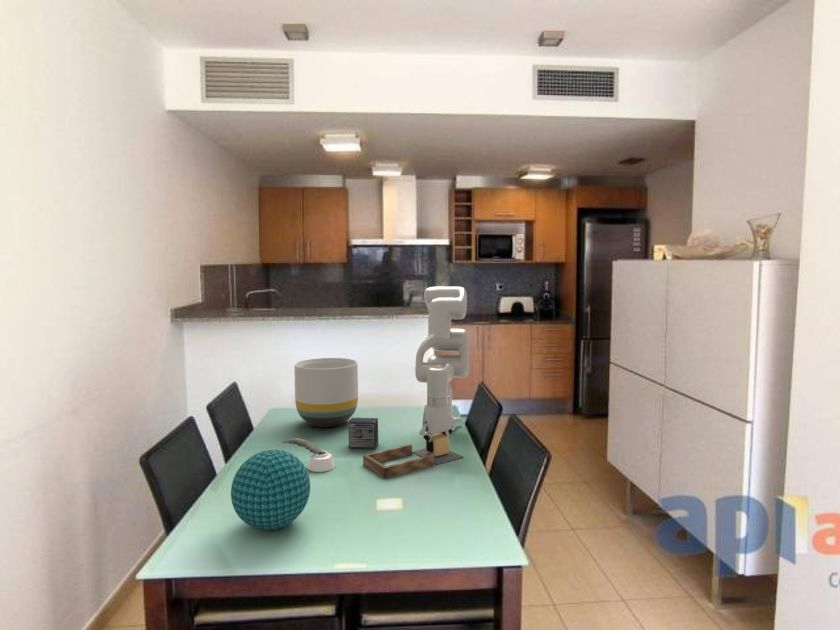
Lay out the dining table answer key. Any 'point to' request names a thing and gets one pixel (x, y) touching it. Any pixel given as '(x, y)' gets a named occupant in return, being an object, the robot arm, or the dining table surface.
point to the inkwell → (315, 456)
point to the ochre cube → (440, 444)
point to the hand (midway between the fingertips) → (437, 449)
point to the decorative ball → (270, 489)
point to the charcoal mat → (440, 458)
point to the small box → (363, 433)
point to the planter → (326, 390)
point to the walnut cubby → (389, 471)
